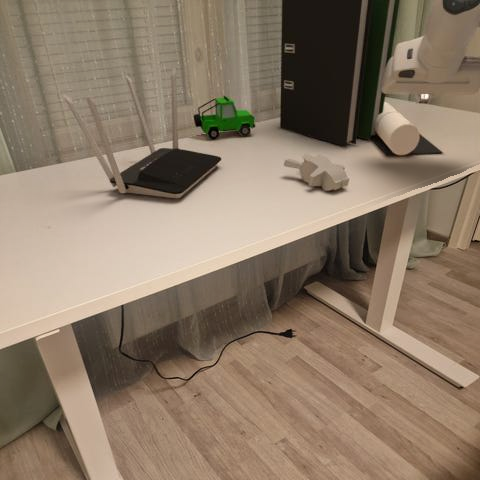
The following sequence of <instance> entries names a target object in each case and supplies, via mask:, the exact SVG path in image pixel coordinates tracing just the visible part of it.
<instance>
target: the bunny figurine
mask: <svg viewBox="0 0 480 480" xmlns="http://www.w3.org/2000/svg"><path fill="white" fill-rule="evenodd" d="M301 157H302V159H303V162H301V161H299V160H297V159H293V158H285V160H284V162H283V166H284V167H285V168H290V169H297V170H298V171H299V173H300V177H301V180H303V181H304V182H306V183H307V184H308V186H309V187H322V188H321V189H322V190H323V191H324V192H330V191H333V190H334V191H336V190H338V189H341V188H345V187H347V186H349V182H350V178H349V177H348V175H347V173H346V171H345V166H344V165H342V164H336V163H333V162H332V161H331V159H330V158H329V157H327V156H325V155H321V154H320V155H319V154H318V155H314V156H313V155H312V154H311V153H303V154H302V156H301Z"/></svg>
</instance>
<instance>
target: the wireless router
mask: <svg viewBox="0 0 480 480" xmlns="http://www.w3.org/2000/svg"><path fill="white" fill-rule="evenodd" d="M124 77H125V79H126V83H127V86H128V89H129V91H130V94H131V97H132V101H133V103H134V106H135V109H136V112H137V115H138V118H139V121H140V124H141V127H142V129H143V133H144V136H145V139H146V143H147V145H148V147H149V151H150V154H149V155H147V156H145V157H143V158H142V159H141V160H139V161H137V162H136V163H134V164H132V165H130V166H128V167H127V168H126V169H124V170H122V171H120V169H119V167H118V164H117V161H116V159H115V156H114V152H113V150H112V147H111V145H110V142H109V139H108V136H107V134H106V131H105V128H104V126H103V123H102V120H101V117H100V115H99V114H100V113H99V112H98V108H97V106H96V103H94V102H93V100H92V99H91V98H86V101H87V105H88V108H89V110H90V114H91V116H92V118H93V121H94V124H95V128H96V130H97V132H98V135H99V139H100V142H101V144H102V147H103V150H104V153H105V155H106V158H107V161H108V162H107V161H106V159H105V157H104V155H103V153H102V151H101V150H100V148H99V146H98V144H97V143H96V140H95V139H94V137H93V135H92V134H91V132H90V130H89V128H88V126H87V124H86V122H85V121H84V119H83V117H82V116H81V114H80V112H79V110H78V108H77V107H76V105H75V103H74V101H73V99H72V98H71V97H70V96H68V95H67V94H65V93H64V94H63V95H62V97H63V99H64V100H65V102H66V104H67V106H68V108H69V109H70V110H71V113H72V115H73V116H74V118H75V120H76V122H77V124H78V127H80V129H81V131H82V134H83V135H84V137H85V138H86V140H87V142H88V144H89V145H90V148H91V149H92V152H93V153H94V154H95V156H96V159H97V160H98V162H99V164H100V166H101V167H102V169H103V171H104V173H105V175H106V177H107V179H108V180H109V183H110V184H111V186H112V188H115V187H117V190H118V192H119V193H120V194H125V193H127V194H134V195H135V194H136V195H145V196H154V197H161V198H169V199H180V198H181V197H183V196H184V195H185V194H187V192H188V191H190V190H191V189H192V188H193V187H195V185H196V184H198V183H199V182H200V181H202V179H204V178H205V177H206V176H207V175H208V174H210V173H211V172H212V171H214V170H215V168H216V167H217V165H218V164H219V163H220V162H221V161H222V158H221V156H218V155H215V154H208V153H203V152H198V151H193V150H187V149H180V148H179V126H178V125H179V124H178V123H179V121H178V94H177V93H178V91H177V68H176V67H173V68H172V70H171V73H170V81H171V82H170V83H171V85H170V86H171V130H172V131H171V132H172V137H171V138H172V139H171V140H172V148H171V147H170V148H169V147H162V148H158V149H156V148H155V145H154V143H153V139H152V136H151V134H150V130H149V128H148V124H147V122H146V119H145V116H144V113H143V110H142V107H141V105H140V100H139V98H138V95H137V92H136V89H135V87H134V84H133V81H132V79H131V78H130V77H129V75H128V74H125V76H124ZM108 163H109V164H108Z"/></svg>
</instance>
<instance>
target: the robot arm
mask: <svg viewBox="0 0 480 480" xmlns="http://www.w3.org/2000/svg"><path fill="white" fill-rule="evenodd" d="M427 17H428V18H427V20H426V24H425V28H424V35H422V36H420V37H417V38H414V39H410V40H405V41H401V42H399V43H397V44H396V45H395V48H394V53H393V56H392V55H391V58H390V60H389V61H388V63H387V65H386V68H385V70H384V74H383V78H382V84H381V91H382V92H383V93H384V94H385V95H414V97H415V98H416V99H415V104H427V105H429V104H430V103H431V101H432V100H433V99H436V98H437V97H438V96H440V95H451V96H452V95H456V96H459V95H460V96H461V95H463V96H464V95H465V96H467V95H468V96H472V95H475V94H476V93H478V92H479V90H480V56H471V55H470V56H468V55H467V56H466V54H467V52H468V49H469V44H470V42H471V41H472V40H473V38H474V36H475V35H476V33H477V31H478V28H480V0H434V2H433V5H432V7H431V9H430V12H429V14H428V16H427Z"/></svg>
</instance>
